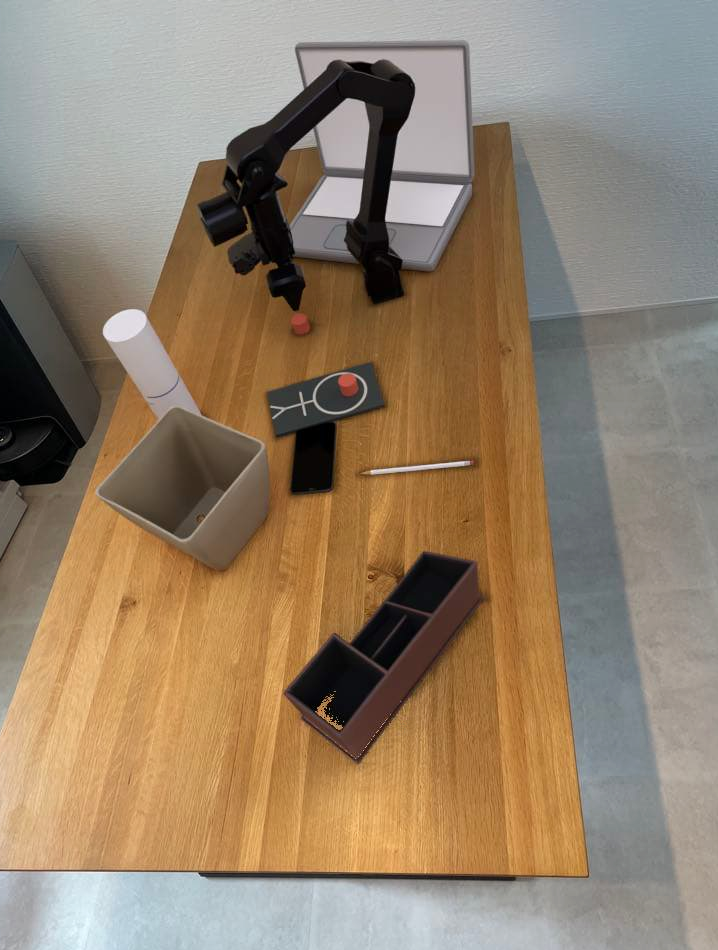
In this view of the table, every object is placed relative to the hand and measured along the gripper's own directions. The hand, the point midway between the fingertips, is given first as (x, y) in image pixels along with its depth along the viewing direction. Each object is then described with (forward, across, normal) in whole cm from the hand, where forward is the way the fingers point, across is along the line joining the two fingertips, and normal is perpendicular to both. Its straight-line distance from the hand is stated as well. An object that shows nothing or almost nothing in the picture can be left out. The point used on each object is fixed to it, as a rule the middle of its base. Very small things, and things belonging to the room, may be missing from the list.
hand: (292, 294), depth 127 cm
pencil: (+9, +41, +12) cm, 43 cm away
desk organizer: (+9, +71, +1) cm, 72 cm away
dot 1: (+9, -1, 0) cm, 9 cm away
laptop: (+9, -26, +21) cm, 35 cm away
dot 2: (+8, +20, +5) cm, 22 cm away
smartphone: (+9, +32, -4) cm, 34 cm away
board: (+9, +20, 0) cm, 22 cm away
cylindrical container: (+9, +17, -26) cm, 32 cm away
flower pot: (+9, +41, -22) cm, 47 cm away
